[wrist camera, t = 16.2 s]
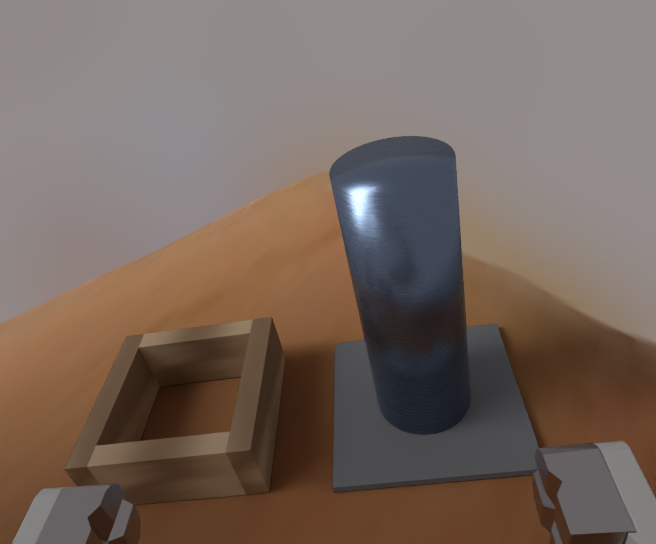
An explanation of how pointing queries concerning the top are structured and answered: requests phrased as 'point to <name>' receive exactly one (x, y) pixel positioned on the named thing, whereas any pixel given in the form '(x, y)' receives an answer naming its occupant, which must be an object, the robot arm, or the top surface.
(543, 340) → the top surface
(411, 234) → the tall blue steel cylinder
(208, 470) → the oak collar
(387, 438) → the charcoal mat
